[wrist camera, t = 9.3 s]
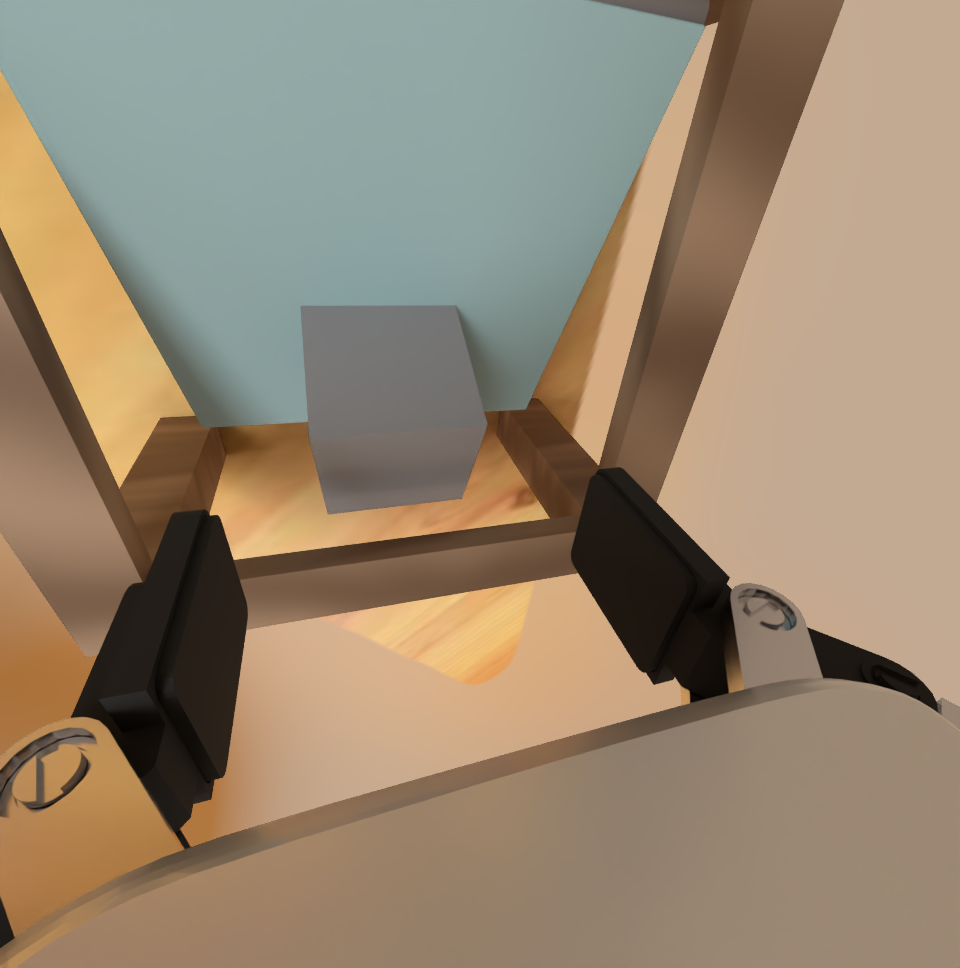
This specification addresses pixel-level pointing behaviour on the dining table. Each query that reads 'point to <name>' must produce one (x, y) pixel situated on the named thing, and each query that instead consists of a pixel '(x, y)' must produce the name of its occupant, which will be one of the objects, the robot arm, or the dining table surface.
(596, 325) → the dining table surface
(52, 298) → the dining table surface
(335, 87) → the trapdoor
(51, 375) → the trapdoor frame
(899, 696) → the robot arm
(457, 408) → the gray cube
